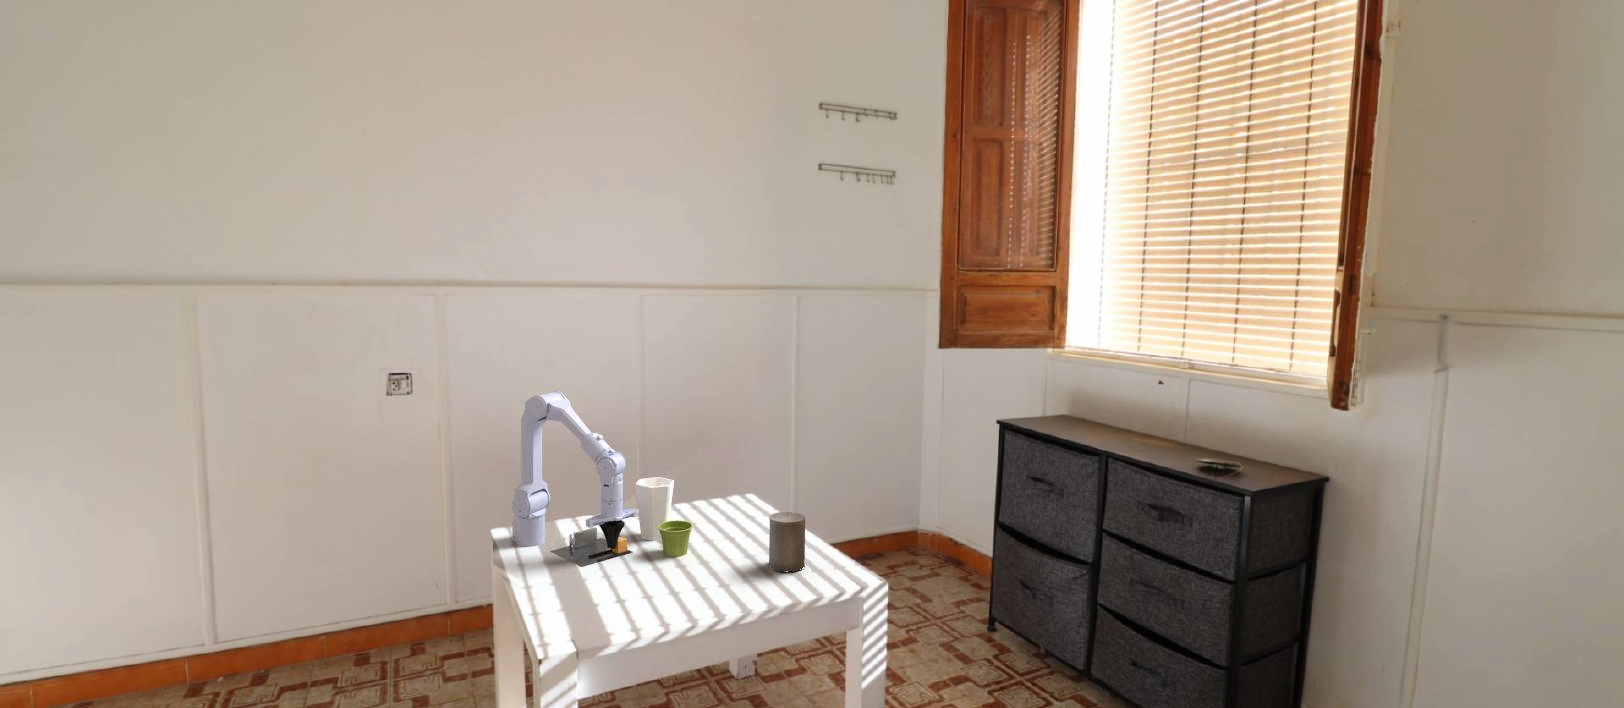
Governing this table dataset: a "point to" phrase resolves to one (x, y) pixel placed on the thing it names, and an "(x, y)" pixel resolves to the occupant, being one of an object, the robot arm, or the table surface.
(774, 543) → the pillar candle
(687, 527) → the plant pot
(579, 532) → the gate
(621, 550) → the fader
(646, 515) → the cup
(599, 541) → the console
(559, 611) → the table surface
